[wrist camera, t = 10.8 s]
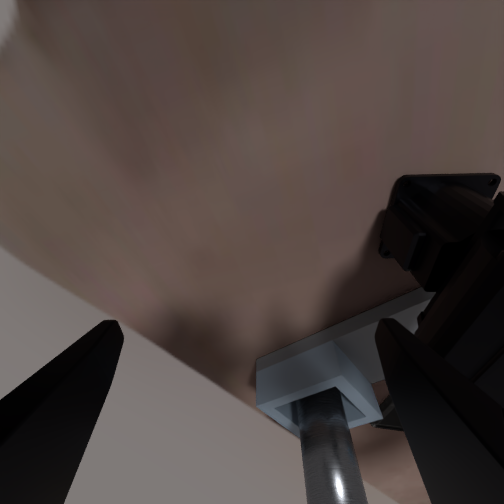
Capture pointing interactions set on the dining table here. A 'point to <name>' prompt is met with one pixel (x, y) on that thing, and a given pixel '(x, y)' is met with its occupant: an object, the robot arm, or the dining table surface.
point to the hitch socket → (333, 364)
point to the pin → (328, 451)
